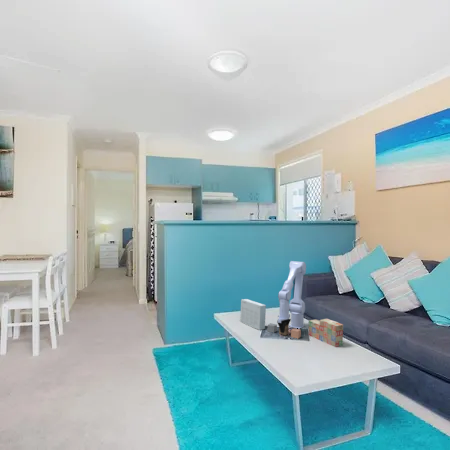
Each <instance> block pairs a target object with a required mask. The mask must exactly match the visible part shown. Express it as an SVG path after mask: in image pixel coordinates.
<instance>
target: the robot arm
mask: <svg viewBox="0 0 450 450" xmlns="http://www.w3.org/2000/svg"><path fill="white" fill-rule="evenodd" d="M288 267H289V273H288V277H287V279H286V280H285V281H284V283H283V285H282V288H281V290H279V292H278V296H277V298H278V303H279V315H277V318H278V319H277V322H276V323H277V326H278V329H279V328H280V332H281V333H284V330H285V325H286V324H288V325H289V324H290V325H289V328H292V329H293V328H296V329H297V328H298V329H300V328H301V329H302V328H303V327H305V326H306V325H305V324H304V321H305V319H304V317H305V315H304V313H305V311H306V303H305V301H304V300H303V299H302V293H303V285H304V284H303V282H304V281H303V279H304V275H306V273H307V272H306V271H307V264H306V262H305V261H295V260H290V262H289V266H288ZM293 282H294V283H295V284H294V283H293ZM293 288H294V290H293V298H292V297H291V296H292V289H293ZM290 322H291V323H290ZM301 329H300V330H301Z"/></svg>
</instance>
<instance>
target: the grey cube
mask: <svg viewBox="0 0 450 450" xmlns="http://www.w3.org/2000/svg"><path fill="white" fill-rule="evenodd" d="M266 330H267V331H268V332H267V333H270V332H273V333H272V334H275V333H277V332H276V331H278V323H277V324H276V323H268V324H267V329H266ZM274 332H275V333H274Z"/></svg>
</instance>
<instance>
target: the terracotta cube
mask: <svg viewBox="0 0 450 450" xmlns="http://www.w3.org/2000/svg"><path fill="white" fill-rule="evenodd" d="M292 337H293V339H296V338H297V340H299V339H300V338H301V337H302V330H301V329H297V328H293V327H292V329H291V330H290V338H292Z"/></svg>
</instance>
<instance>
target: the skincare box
mask: <svg viewBox="0 0 450 450" xmlns="http://www.w3.org/2000/svg"><path fill="white" fill-rule="evenodd" d="M266 308H267V305H266V304H264V303H260V302H257V301H254V300H251V299H248V298H244V299H243V298H241V300H240V318H239V319H240V320H239V321H240V323H242V324H245V325H246V326H249V327H252V328H254V329H256V330H259V331H261V330H265V329H266V312H267V310H266Z"/></svg>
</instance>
